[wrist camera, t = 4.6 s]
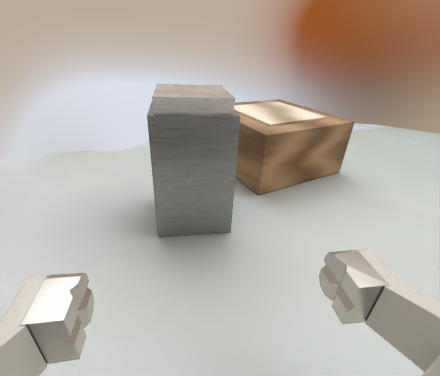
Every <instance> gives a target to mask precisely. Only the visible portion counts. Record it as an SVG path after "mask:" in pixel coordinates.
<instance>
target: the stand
mask: <svg viewBox="0 0 440 376" xmlns="http://www.w3.org/2000/svg"><path fill="white" fill-rule="evenodd" d="M234 110H235V111H236V112H237V113H238V114H239V116H240V128H239V140H238V151H237V163H236V175H235V177H236V178H237V179H238V180H240V181H241V182H242V183H244V184H245V185H246V186H247V187H249V188H250V189H251V190H253V191H254V192H255V193H256V194H258V195H260V194H263V193H267V192H270V191H274V190H278V189H281V188H285V187H288V186H292V185H295V184H299V183H302V182H306V181H309V180H313V179H316V178H320V177H324V176H327V175H331V174H334V173H338V172H339V171H340V168H341V165H342V161H343V158H344V155H345V151H346V148H347V145H348V142H349V138H350V135H351V132H352V129H353V125H354V121H350V120H347V119H344V118H340V117H337V116H334V115H330V114H326V113H323V112H320V111H317V110H313V109H310V108H307V107H303V106H299V105H296V104H293V103H290V102H286V101H283V100H267V101H255V102H241V103H235V104H234Z"/></svg>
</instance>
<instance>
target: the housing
mask: <svg viewBox="0 0 440 376" xmlns="http://www.w3.org/2000/svg"><path fill="white" fill-rule="evenodd" d="M152 99H153V100H152V103H151V106H150V109H149V112H148V115H147V120H148V131H149V142H150V153H151V164H152V175H153V186H154V197H155V208H156V218H157V229H158V237H171V236H186V235H202V234H217V233H231V221H232V209H233V198H234V186H235V175H236V163H237V151H238V140H239V128H240V116H239V114H238V113H237V112H236V111H235V110H234V104H235V98H234V97H233V96H232V95H231V94H230V93H229V92H228V91H227V90H226V89H225V88H224V87H223V86H218V85H179V84H157V85H156V88H155V91H154V94H153V97H152Z"/></svg>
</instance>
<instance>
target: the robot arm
mask: <svg viewBox="0 0 440 376" xmlns="http://www.w3.org/2000/svg"><path fill="white" fill-rule="evenodd" d="M324 261H325V263H326V265H325V266H324V267H323V268H322V269H321V271H320V274H319V281H320V286H321V289H322V291H323V292H324V294H325V296H327V297H328V298H329V299H331V300H332V301H333V302H332V308H333V309H334V311H335V313H336V314H337V316H338V318H339V319H340V321H341V323H342V324H351V323H361V322H366V323H365V324H367V325H368V326H369V327H370V328H372V329H373V330H374V331H375V332H376V333H378V334H379V335H380V336H381V337H382V338H384V339H385V340H386V341H387V342H389V343H390V344H391V345H392V346H393V347H395V348H396V349H397V350H398V351H400V352H401V353H402V354H403V355H404V356H406V357H407V358H408V359H409V360H411V361H412V362H413V363H414V364H415V365H417V366H418V367H419V368H420V369H422V370H423V371H424V374H423V375H422V376H440V301H438V300H437V299H435V298H433V297H431V296H429V295H427V294H425V293H423V292H421V291H420V290H418V289H416V288H414V287H412V286H410V285H408V284H402V283H401V281H400V280H399V279H398V278H397V277H396V276H395V275H394V274H393V273H392V272H391V271H390V270H389V269H388V268H387V267H386V266H385V264H384V263H383V262H382V261H381V260H380V259H379V258H378V257H377V256H376V255H375V254H374V253H373V252H372V251H371V250H369V249H361V250H349V251H339V252H329V253H328V254H327V255H326V256H325V259H324ZM88 282H89V280H88V277H87V274H86V273H76V274H59V275H47V276H31V277H30V278H29V279H27V280H26V281H25V283H24V284H23V286H22V288H21V289H20V291H19V293H18V294H17V296H16V298H15V299H14V301H13V302H12V304H11V306H10V307H9V309H8V311H7V312H6V314H5V316H4V317H3V319H2V321H1V322H0V376H39V375H40V374H41V373H42V372H43V371H44V369H45V368H46V367H47V364H51V363H58V362H64V361H70V360H76V359H80V356H81V352H82V349H83V345H84V342H85V339H86V334H85V331H84V328H85V327H86V326H87V325H88V324H89V323H90V321H91V318H92V314H93V306H94V299H93V293H92V291H91V290H90V289H88V288H87V285H88Z"/></svg>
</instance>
